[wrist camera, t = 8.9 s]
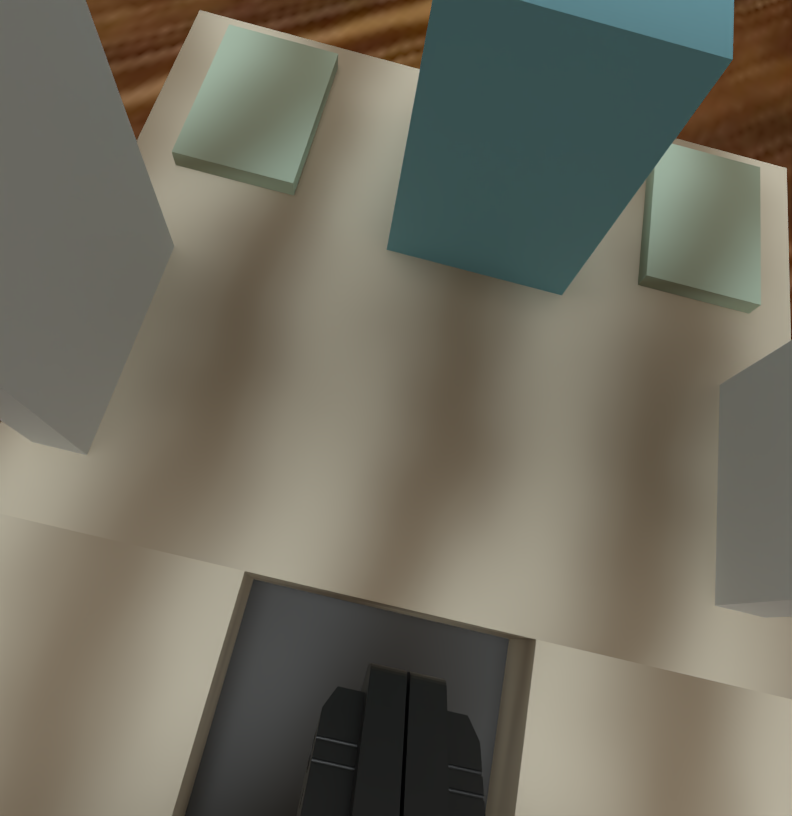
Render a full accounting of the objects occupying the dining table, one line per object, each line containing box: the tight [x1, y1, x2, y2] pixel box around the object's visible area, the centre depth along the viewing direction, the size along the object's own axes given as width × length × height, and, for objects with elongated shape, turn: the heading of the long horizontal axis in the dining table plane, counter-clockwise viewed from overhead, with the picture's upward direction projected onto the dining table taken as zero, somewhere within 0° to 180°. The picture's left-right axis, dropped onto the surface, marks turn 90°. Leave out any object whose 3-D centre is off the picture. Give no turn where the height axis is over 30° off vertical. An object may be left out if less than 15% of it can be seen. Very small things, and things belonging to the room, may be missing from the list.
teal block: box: [387, 0, 734, 295], centre depth 17 cm, size 6×6×9 cm
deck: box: [0, 10, 792, 816], centre depth 19 cm, size 23×28×4 cm
